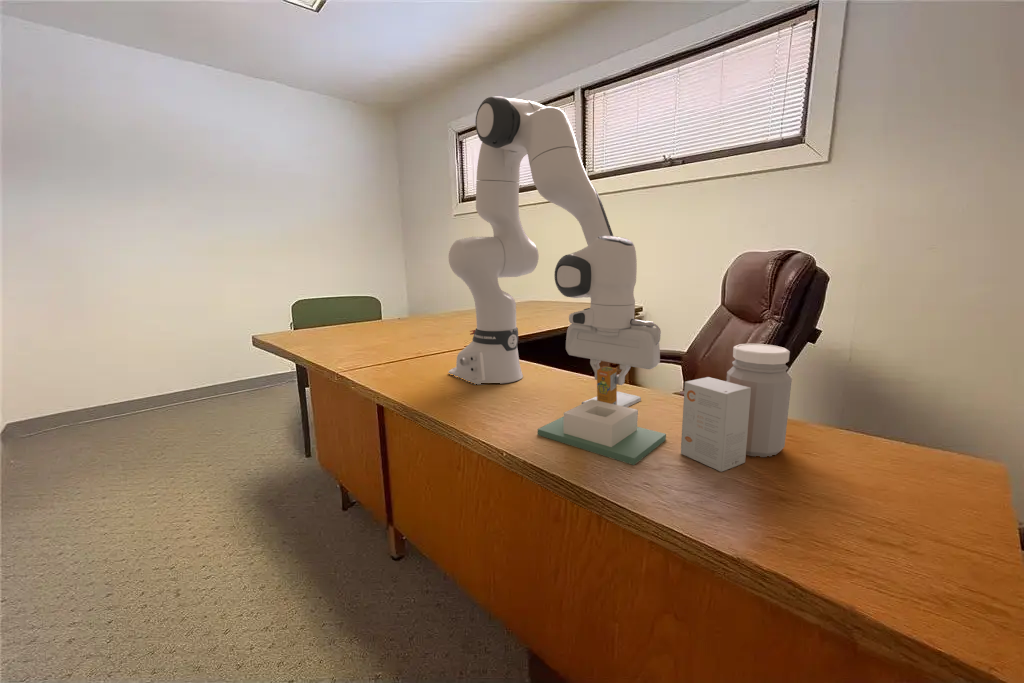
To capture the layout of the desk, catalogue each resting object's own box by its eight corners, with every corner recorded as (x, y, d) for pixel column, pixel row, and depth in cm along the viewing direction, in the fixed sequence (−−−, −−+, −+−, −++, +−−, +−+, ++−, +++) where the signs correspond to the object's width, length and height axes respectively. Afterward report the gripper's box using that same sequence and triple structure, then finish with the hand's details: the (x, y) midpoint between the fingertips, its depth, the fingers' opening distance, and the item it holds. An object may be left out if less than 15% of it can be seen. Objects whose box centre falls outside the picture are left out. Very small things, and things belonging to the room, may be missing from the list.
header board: (537, 434, 86) (537, 409, 85) (574, 416, 96) (574, 392, 95) (634, 465, 73) (635, 435, 72) (665, 439, 83) (667, 413, 82)
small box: (745, 463, 73) (752, 387, 71) (720, 473, 70) (727, 393, 68) (703, 445, 80) (708, 375, 78) (679, 453, 77) (683, 381, 75)
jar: (718, 451, 78) (726, 350, 74) (724, 432, 86) (731, 340, 82) (784, 464, 73) (795, 356, 69) (783, 442, 81) (793, 345, 78)
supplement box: (595, 413, 95) (595, 369, 93) (603, 408, 98) (603, 364, 95) (609, 417, 93) (609, 372, 90) (617, 412, 96) (618, 367, 93)
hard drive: (612, 410, 96) (641, 396, 105) (581, 401, 102) (611, 389, 111) (612, 417, 97) (640, 402, 105) (581, 408, 102) (610, 395, 111)
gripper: (667, 320, 87) (663, 388, 90) (578, 311, 100) (576, 370, 103) (654, 324, 82) (649, 395, 85) (562, 314, 96) (561, 376, 98)
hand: (609, 381), depth 94 cm, fingers closed on supplement box, 3 cm apart
